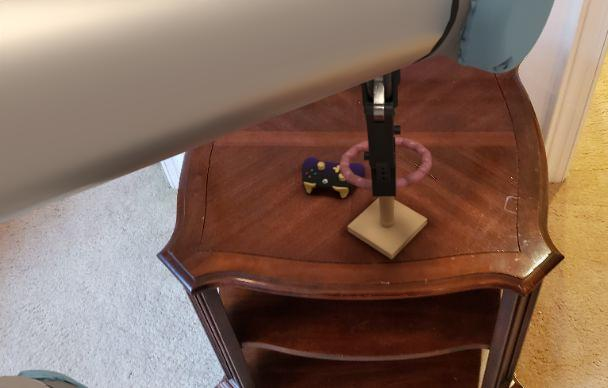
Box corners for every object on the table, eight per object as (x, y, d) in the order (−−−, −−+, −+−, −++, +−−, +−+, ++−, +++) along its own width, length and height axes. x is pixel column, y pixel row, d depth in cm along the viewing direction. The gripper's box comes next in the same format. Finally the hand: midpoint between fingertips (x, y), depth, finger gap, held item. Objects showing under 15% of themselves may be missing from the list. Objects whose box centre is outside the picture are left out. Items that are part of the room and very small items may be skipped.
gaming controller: (367, 164, 86) (359, 163, 80) (363, 198, 86) (354, 200, 80) (307, 156, 87) (295, 155, 81) (303, 190, 87) (291, 191, 81)
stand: (391, 260, 75) (389, 194, 65) (347, 231, 78) (339, 164, 68) (427, 223, 79) (430, 157, 69) (383, 198, 82) (381, 131, 72)
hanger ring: (393, 204, 62) (392, 195, 62) (320, 173, 69) (319, 164, 68) (450, 159, 69) (450, 151, 69) (379, 134, 76) (378, 127, 75)
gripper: (424, 46, 42) (418, 235, 60) (418, -40, 52) (414, 144, 70) (326, 47, 42) (349, 236, 60) (338, -39, 52) (355, 145, 70)
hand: (384, 187), depth 65 cm, fingers closed on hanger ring, 1 cm apart
